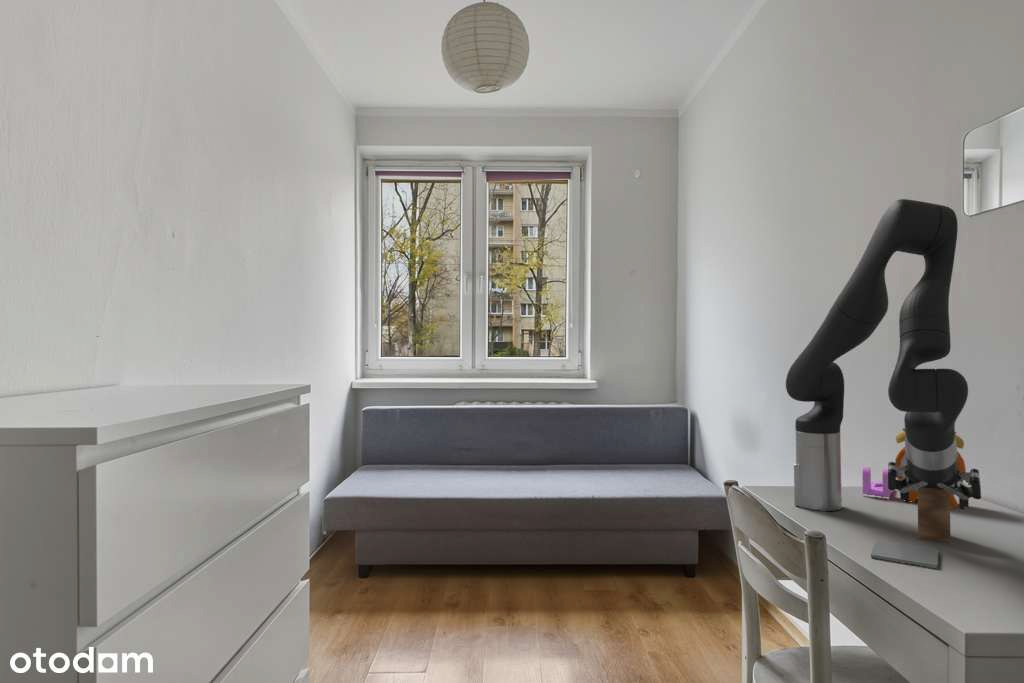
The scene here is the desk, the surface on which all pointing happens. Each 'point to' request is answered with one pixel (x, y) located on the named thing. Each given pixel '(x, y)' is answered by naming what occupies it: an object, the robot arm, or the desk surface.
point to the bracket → (875, 484)
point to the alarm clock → (902, 462)
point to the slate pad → (905, 553)
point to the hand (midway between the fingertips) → (933, 502)
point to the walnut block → (934, 514)
